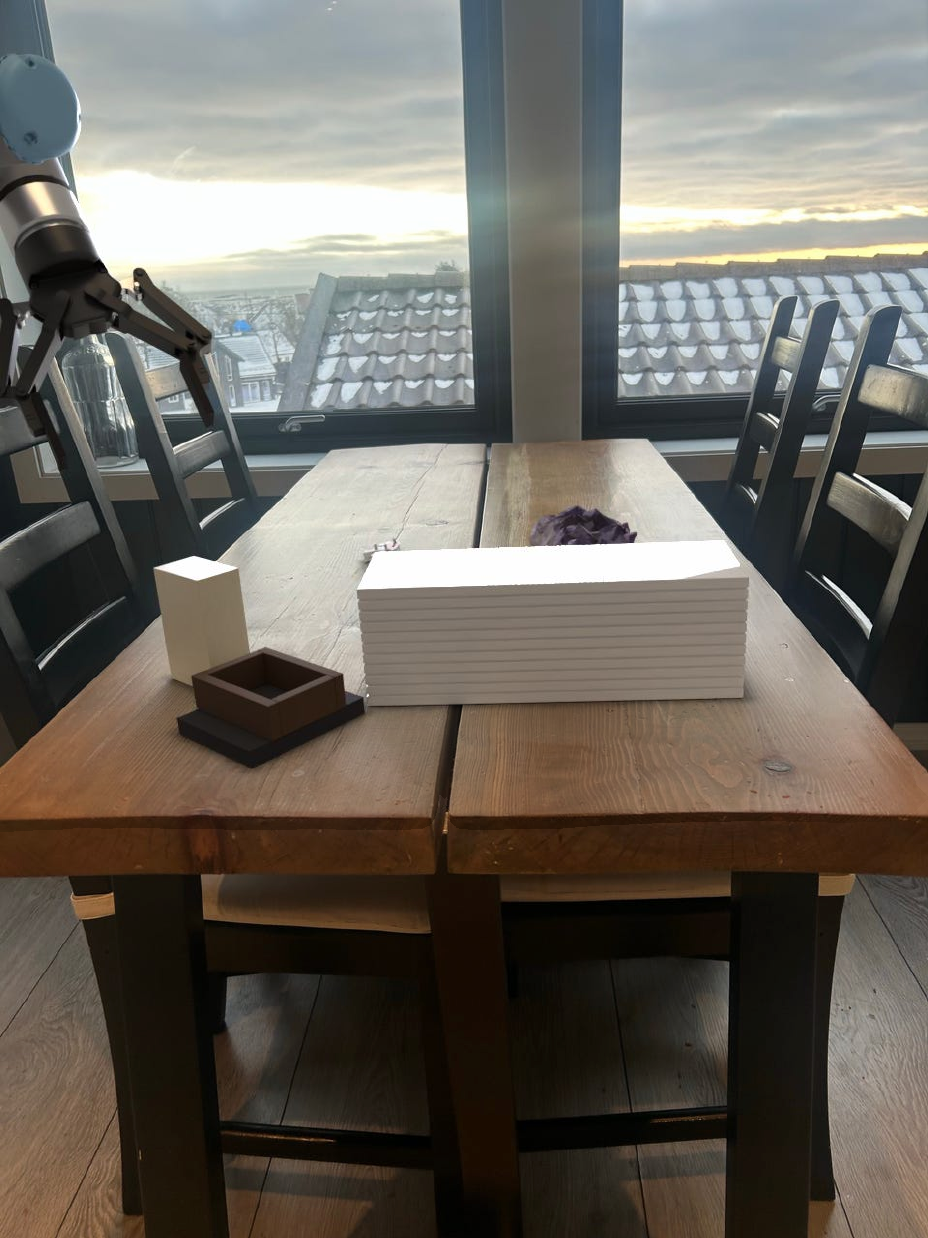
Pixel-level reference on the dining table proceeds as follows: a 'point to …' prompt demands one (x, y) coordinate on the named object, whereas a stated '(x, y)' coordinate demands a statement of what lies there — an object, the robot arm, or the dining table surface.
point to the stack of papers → (554, 624)
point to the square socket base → (266, 705)
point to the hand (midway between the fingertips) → (138, 441)
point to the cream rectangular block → (201, 615)
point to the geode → (579, 529)
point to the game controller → (383, 549)
